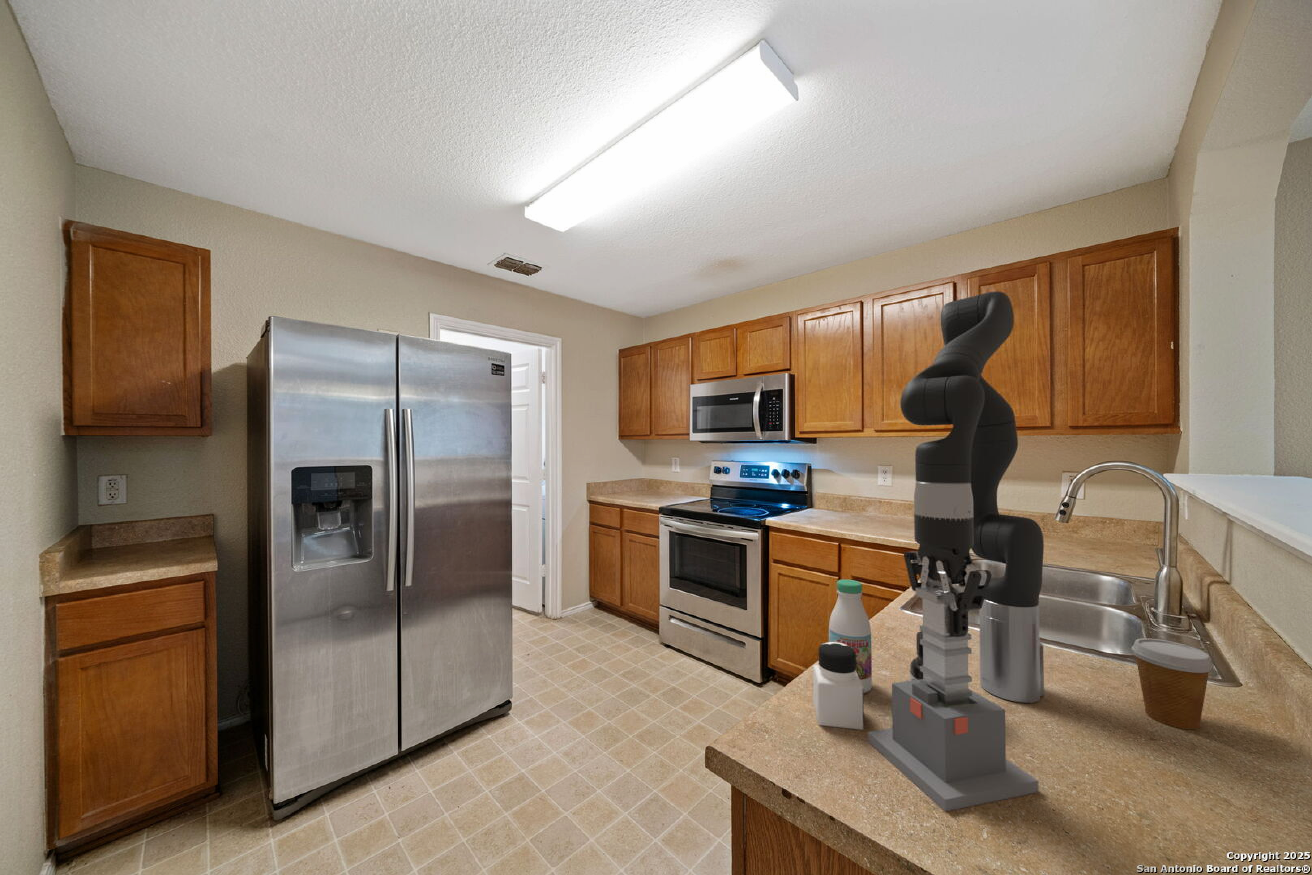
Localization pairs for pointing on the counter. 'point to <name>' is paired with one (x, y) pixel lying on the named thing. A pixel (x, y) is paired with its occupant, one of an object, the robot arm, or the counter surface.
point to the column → (943, 650)
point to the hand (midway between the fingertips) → (944, 629)
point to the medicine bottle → (838, 687)
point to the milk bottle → (853, 628)
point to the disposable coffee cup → (1172, 681)
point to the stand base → (951, 748)
